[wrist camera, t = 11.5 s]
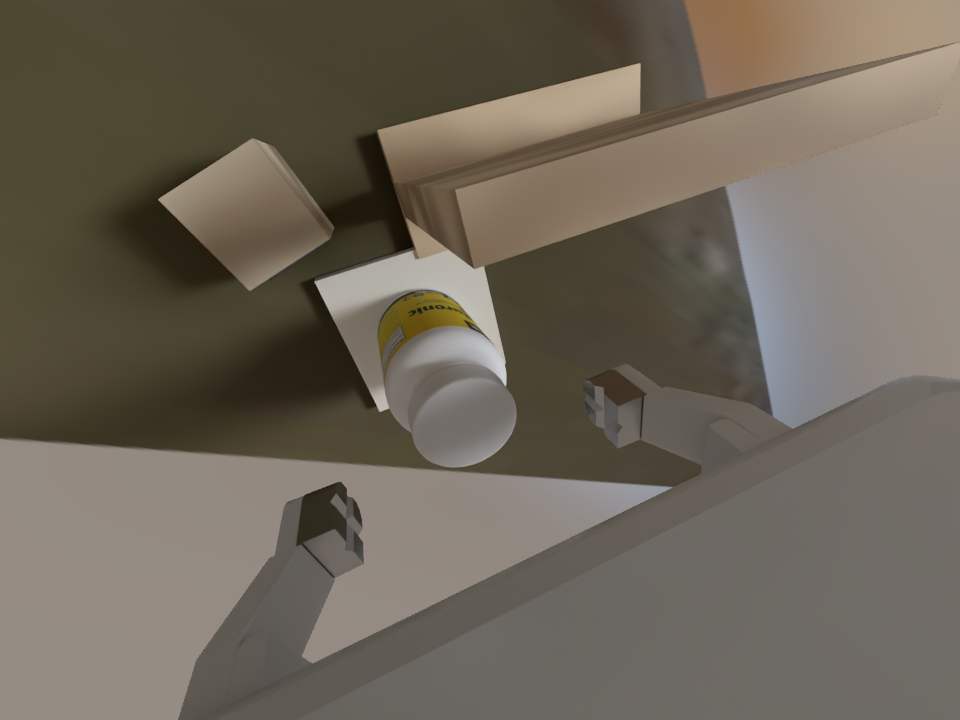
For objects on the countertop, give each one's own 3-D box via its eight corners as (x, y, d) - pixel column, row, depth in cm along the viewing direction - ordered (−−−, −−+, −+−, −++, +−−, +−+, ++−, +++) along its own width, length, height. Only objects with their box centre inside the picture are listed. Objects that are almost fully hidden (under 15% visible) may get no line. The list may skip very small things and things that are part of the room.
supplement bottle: (480, 305, 21) (560, 385, 13) (444, 378, 23) (495, 491, 15) (396, 270, 19) (429, 341, 11) (362, 355, 20) (368, 475, 12)
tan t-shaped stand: (376, 132, 16) (418, 42, 6) (627, 68, 19) (1015, -89, 8) (416, 255, 20) (494, 353, 9) (628, 188, 22) (905, 198, 11)
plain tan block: (200, 194, 16) (157, 199, 12) (274, 146, 16) (252, 138, 12) (271, 272, 18) (252, 293, 14) (336, 230, 18) (332, 242, 15)
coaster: (315, 277, 18) (314, 281, 18) (471, 229, 20) (475, 230, 19) (379, 404, 23) (379, 411, 22) (501, 358, 25) (505, 363, 24)
